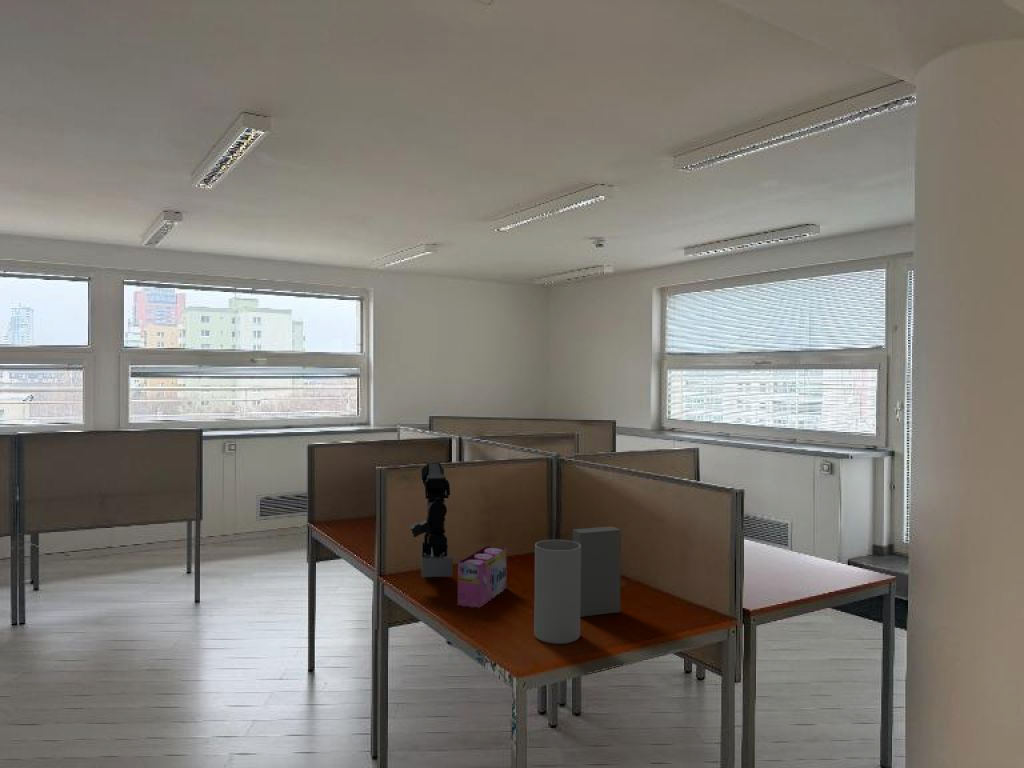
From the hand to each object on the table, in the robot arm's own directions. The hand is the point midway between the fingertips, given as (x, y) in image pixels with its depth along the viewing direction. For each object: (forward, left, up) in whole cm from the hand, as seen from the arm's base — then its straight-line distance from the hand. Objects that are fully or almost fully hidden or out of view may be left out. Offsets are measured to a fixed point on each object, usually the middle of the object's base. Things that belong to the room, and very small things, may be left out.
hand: (435, 559), depth 241 cm
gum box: (+14, +14, -9) cm, 22 cm away
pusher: (+3, 0, -3) cm, 5 cm away
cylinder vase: (+52, +30, -9) cm, 61 cm away
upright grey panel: (+34, +46, -9) cm, 58 cm away
